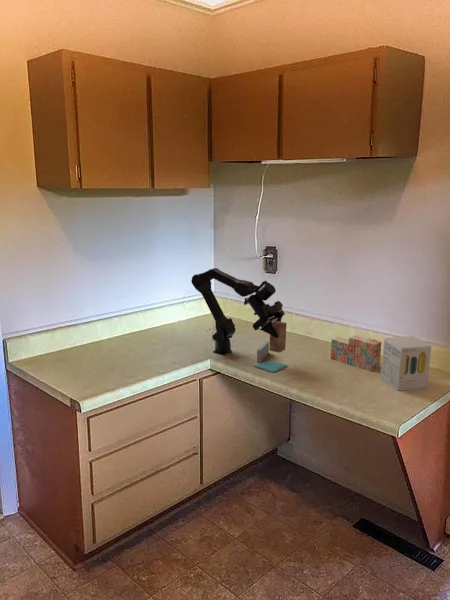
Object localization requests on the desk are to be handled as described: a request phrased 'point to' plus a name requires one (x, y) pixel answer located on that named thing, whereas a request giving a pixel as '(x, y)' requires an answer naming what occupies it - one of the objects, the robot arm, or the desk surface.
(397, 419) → the desk surface
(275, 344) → the letter block
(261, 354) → the screen
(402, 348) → the supplement box
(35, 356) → the desk surface
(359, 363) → the stack of blocks
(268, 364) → the mat
